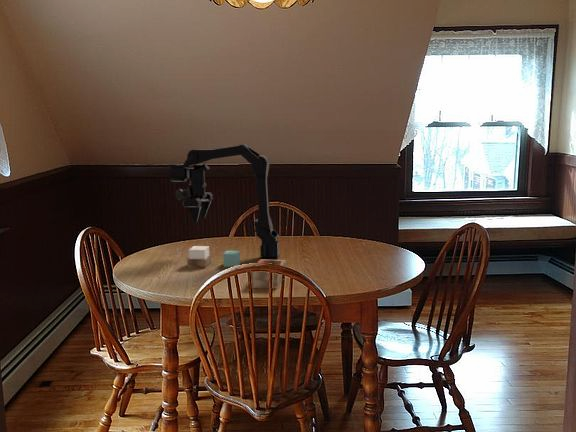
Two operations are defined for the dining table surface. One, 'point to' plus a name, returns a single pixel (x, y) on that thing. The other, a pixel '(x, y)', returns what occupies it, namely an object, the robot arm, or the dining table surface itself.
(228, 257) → the teal cube
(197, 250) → the cream block
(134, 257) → the dining table surface
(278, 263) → the bracket cradle
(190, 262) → the walnut block
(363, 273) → the dining table surface
